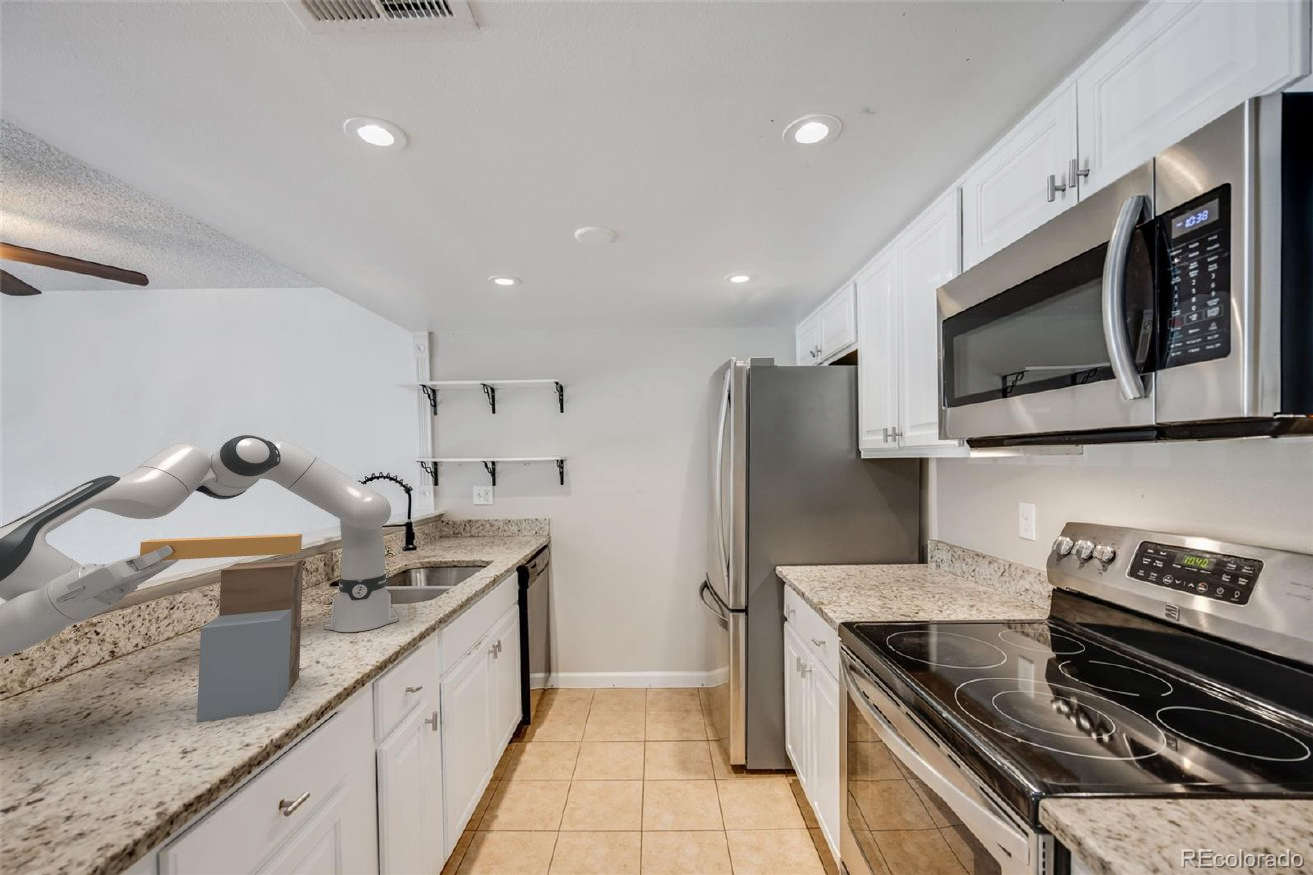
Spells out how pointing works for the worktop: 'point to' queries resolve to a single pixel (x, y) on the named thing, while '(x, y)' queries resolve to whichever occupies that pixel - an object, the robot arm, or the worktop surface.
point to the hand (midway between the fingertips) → (178, 546)
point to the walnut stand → (266, 596)
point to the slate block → (243, 664)
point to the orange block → (226, 546)
